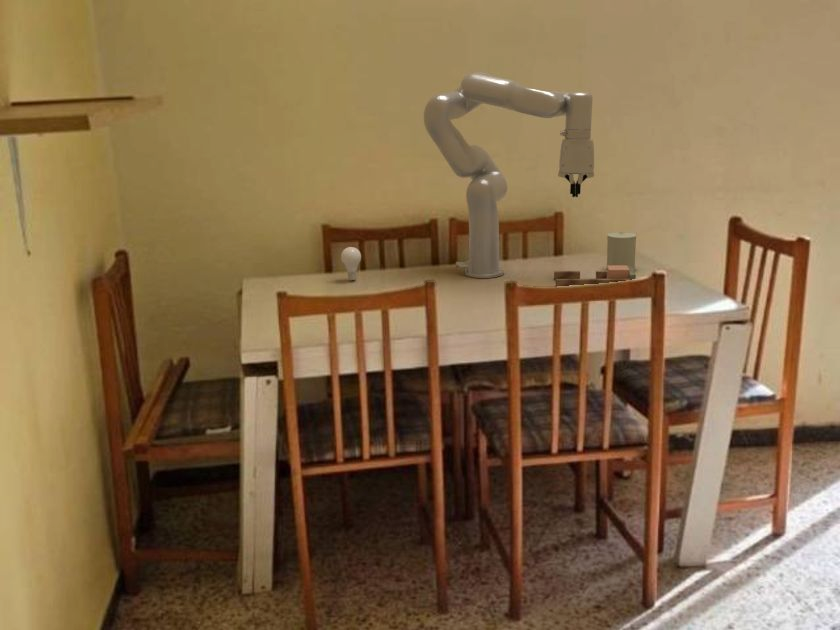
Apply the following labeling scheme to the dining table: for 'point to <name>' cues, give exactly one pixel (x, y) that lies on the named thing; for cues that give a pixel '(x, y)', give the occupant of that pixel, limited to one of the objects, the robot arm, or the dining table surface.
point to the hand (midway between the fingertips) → (575, 196)
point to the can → (621, 249)
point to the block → (618, 272)
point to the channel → (574, 279)
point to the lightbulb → (351, 261)
